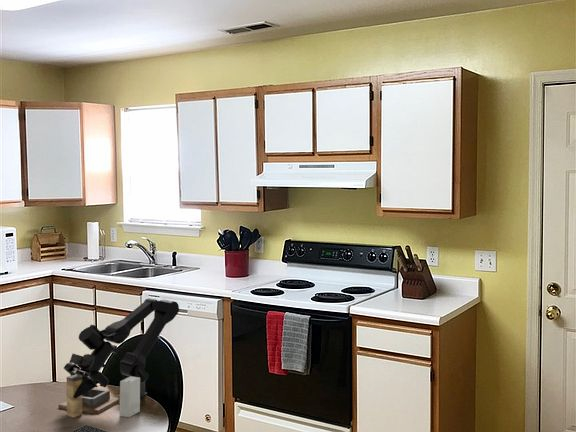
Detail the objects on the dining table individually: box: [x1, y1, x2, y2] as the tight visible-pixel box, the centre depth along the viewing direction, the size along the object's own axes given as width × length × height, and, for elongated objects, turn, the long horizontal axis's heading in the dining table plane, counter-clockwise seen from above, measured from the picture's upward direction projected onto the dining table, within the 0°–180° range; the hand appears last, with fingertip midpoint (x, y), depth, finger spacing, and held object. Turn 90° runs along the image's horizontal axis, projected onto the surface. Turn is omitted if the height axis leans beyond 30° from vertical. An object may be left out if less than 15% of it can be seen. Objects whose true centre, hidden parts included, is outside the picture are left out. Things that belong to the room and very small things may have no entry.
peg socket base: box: [58, 387, 120, 415], centre depth 229 cm, size 16×13×4 cm
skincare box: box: [119, 376, 141, 418], centre depth 221 cm, size 6×4×12 cm
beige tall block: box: [66, 375, 83, 418], centre depth 219 cm, size 4×4×13 cm
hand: (70, 396), depth 218 cm, fingers closed on beige tall block, 4 cm apart
